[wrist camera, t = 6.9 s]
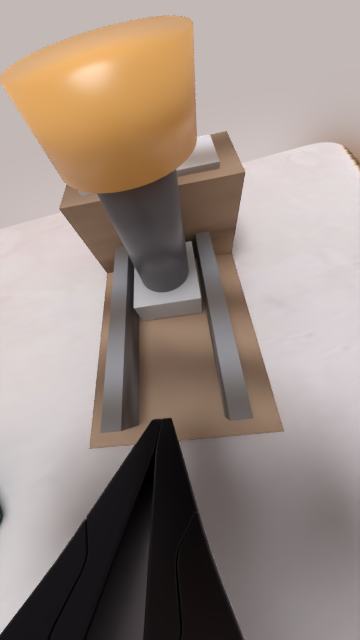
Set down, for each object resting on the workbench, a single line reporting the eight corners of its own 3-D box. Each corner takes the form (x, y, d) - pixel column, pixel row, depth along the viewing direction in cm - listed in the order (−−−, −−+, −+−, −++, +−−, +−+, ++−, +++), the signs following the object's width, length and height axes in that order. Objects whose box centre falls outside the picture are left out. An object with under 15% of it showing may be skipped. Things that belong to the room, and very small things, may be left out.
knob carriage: (206, 312, 16) (208, 45, 4) (138, 321, 16) (-35, 106, 4) (197, 259, 18) (181, 5, 7) (139, 269, 19) (30, 47, 7)
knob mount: (278, 429, 12) (391, 468, 5) (97, 445, 13) (-44, 499, 6) (219, 222, 22) (227, 124, 14) (115, 240, 23) (69, 158, 15)
